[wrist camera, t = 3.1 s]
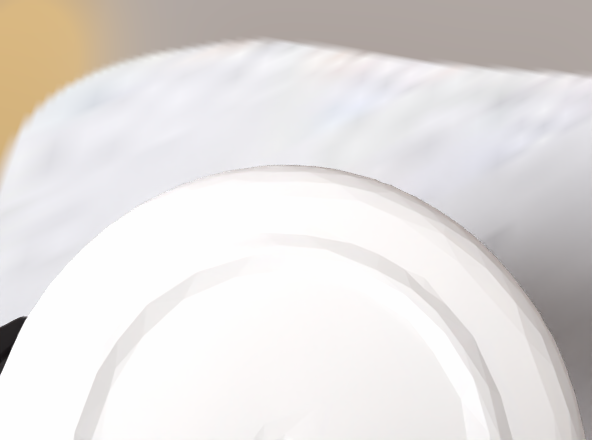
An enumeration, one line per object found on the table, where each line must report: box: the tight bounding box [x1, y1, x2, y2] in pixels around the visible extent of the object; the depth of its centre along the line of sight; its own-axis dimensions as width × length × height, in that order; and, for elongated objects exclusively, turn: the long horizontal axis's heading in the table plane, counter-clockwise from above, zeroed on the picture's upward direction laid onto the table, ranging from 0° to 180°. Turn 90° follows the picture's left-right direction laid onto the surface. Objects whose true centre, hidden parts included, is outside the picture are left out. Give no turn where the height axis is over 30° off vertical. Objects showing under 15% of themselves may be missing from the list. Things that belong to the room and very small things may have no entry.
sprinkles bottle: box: [0, 165, 586, 440], centre depth 10 cm, size 5×5×13 cm
